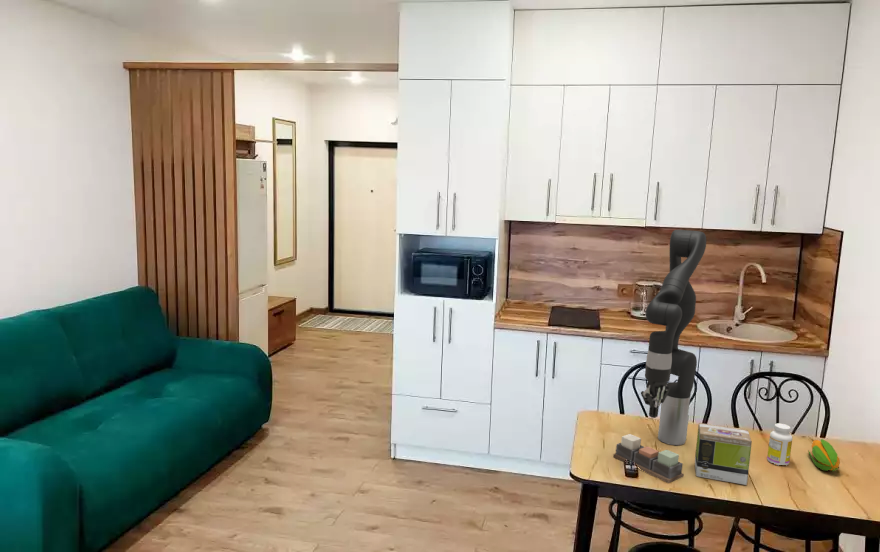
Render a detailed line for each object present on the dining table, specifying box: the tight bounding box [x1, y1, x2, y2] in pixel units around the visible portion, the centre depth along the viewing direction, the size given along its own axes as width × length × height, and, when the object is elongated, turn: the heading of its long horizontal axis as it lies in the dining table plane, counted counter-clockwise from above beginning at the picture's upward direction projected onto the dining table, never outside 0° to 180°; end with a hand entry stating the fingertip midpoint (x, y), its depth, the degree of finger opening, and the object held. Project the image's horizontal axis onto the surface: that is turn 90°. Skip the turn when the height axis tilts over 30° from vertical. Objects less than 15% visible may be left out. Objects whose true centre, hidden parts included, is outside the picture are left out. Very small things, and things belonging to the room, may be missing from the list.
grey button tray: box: [612, 442, 684, 484], centre depth 209 cm, size 8×21×4 cm, turn 37°
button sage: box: [657, 449, 680, 467], centre depth 203 cm, size 4×4×4 cm
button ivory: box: [620, 433, 642, 450], centre depth 214 cm, size 4×4×4 cm
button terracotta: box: [639, 445, 660, 458], centre depth 209 cm, size 4×4×4 cm
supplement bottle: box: [766, 422, 793, 466], centre depth 216 cm, size 7×7×13 cm
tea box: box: [694, 422, 752, 486], centre depth 205 cm, size 15×10×15 cm, turn 71°
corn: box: [807, 438, 841, 472], centre depth 218 cm, size 7×8×20 cm
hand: (653, 416), depth 207 cm, fingers closed
